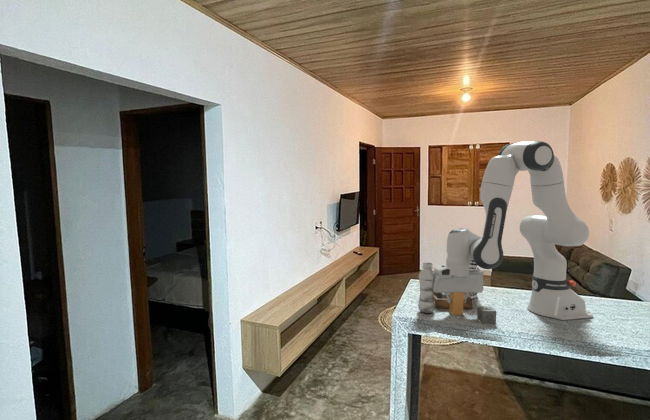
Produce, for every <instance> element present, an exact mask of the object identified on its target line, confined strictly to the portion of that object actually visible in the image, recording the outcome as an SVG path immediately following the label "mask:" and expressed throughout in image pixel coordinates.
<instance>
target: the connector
mask: <svg viewBox="0 0 650 420" xmlns="http://www.w3.org/2000/svg"><path fill="white" fill-rule="evenodd" d="M450 298H451V299H452V303H450V306H449V312H450V313H451V314H452V315H453V316H455V315H457V316H458V315H459V316H460V315H462V316H463V315H464V309H463V302H464V292H453V293H450Z"/></svg>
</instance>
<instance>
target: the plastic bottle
mask: <svg viewBox="0 0 650 420" xmlns="http://www.w3.org/2000/svg"><path fill="white" fill-rule="evenodd" d="M433 269H434V266H433V263H432V262H426V261H425V262H423V263H422V270H421V271H420V272H419V274H418V281H419V298H418V304H417V306H418V310H419V312H421V313H425V314H426V313H427V314H431V313H434V312H435V311H436V308H435V301H434V291H433V285H434V280H435V274H434V273H435V271H434V270H433Z"/></svg>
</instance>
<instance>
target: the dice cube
mask: <svg viewBox="0 0 650 420" xmlns="http://www.w3.org/2000/svg"><path fill="white" fill-rule="evenodd" d="M476 309H477V310H476V319H477V320H478V322H480V323H481V324H482V325H496V324H497V310H496V309H494V307H492V306H489V305H488V306H484V305H483V306H482V305H481V306H479V305H478V306H477V308H476Z"/></svg>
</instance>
